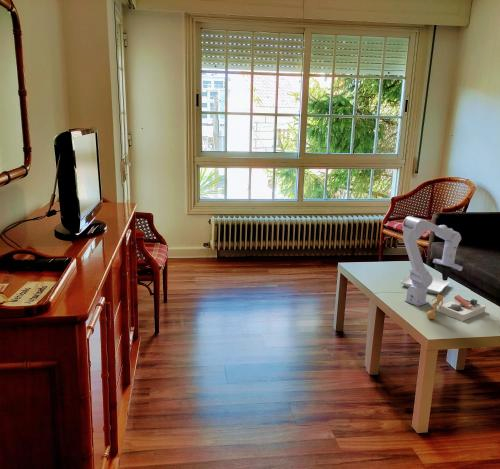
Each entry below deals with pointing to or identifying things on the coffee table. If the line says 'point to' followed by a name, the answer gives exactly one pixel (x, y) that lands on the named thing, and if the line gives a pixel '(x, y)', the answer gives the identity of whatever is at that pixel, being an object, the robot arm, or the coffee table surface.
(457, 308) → the button
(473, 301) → the slider
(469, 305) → the plate
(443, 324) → the coffee table surface
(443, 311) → the panel
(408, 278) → the salad plate
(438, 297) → the figurine
